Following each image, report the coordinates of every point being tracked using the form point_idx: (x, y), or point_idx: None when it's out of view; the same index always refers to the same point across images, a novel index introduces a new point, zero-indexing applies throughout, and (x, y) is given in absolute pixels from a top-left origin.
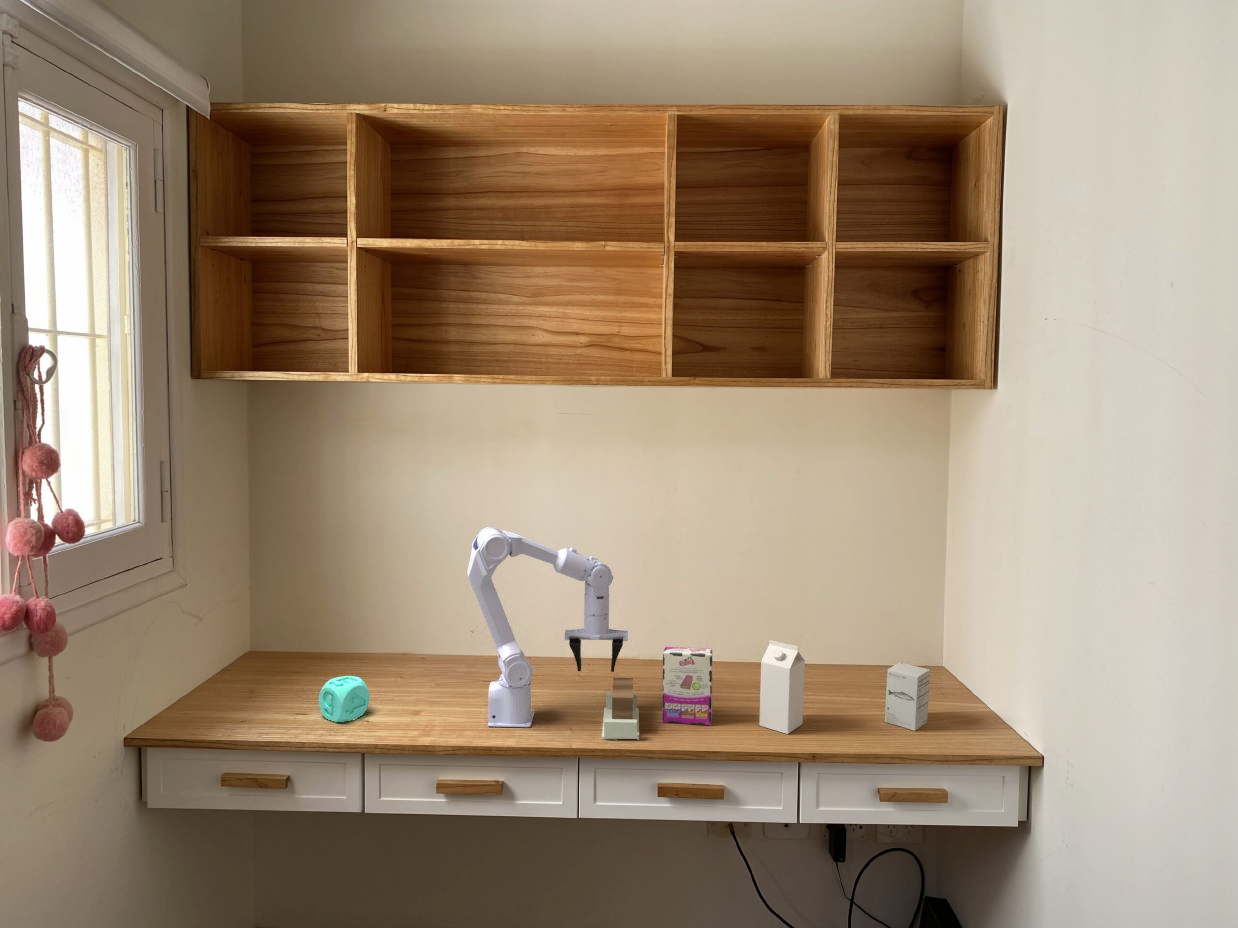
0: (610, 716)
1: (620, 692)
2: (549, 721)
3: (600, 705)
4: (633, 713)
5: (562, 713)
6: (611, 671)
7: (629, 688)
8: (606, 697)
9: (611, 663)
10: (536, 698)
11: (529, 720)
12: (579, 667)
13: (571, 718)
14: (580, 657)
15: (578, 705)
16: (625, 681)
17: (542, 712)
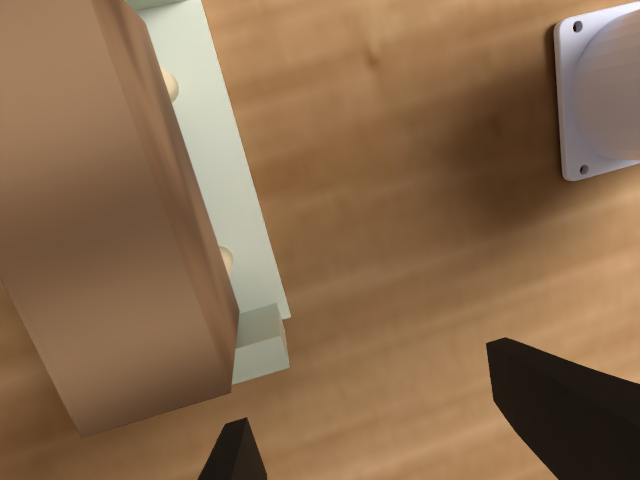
0: (231, 230)
1: (46, 101)
2: (484, 121)
3: (319, 349)
4: None
5: (451, 221)
6: (242, 419)
7: (7, 219)
8: (279, 327)
9: (237, 473)
10: (577, 327)
11: (570, 77)
12: (514, 350)
13: (402, 181)
14: (567, 455)
15: (407, 319)
16: (109, 355)
17: (531, 205)
